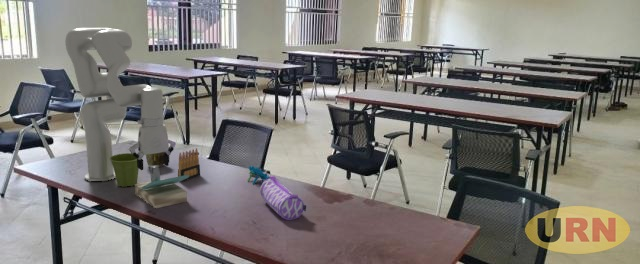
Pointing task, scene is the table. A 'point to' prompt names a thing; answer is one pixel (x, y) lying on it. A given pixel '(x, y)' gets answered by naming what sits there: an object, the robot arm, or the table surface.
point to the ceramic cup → (155, 159)
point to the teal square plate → (164, 182)
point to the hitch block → (161, 194)
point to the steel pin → (155, 173)
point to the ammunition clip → (189, 165)
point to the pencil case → (281, 199)
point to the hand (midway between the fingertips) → (153, 167)
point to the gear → (257, 174)
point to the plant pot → (125, 169)
